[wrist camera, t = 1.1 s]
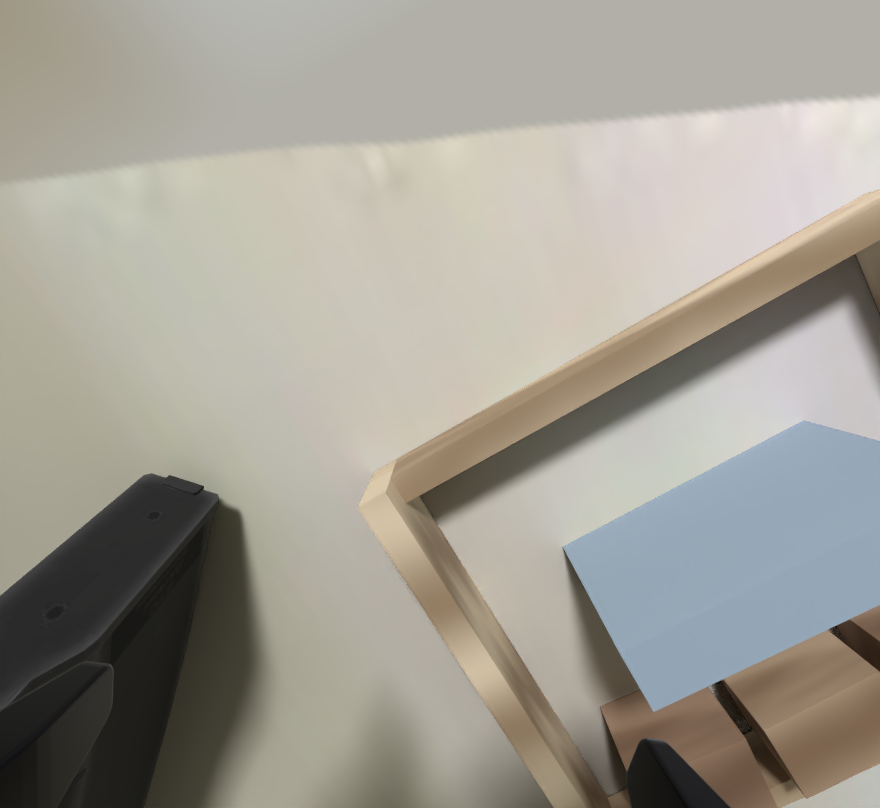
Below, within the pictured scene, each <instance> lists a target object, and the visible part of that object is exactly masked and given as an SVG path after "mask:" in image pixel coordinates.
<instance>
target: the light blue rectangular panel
mask: <svg viewBox="0 0 880 808" xmlns="http://www.w3.org/2000/svg"><path fill="white" fill-rule="evenodd" d="M563 548H564V550H565V552H566V554H567V556H568V558H569V560H570V561H571V563H572V565H573V567H574V569H575V571H576V573H577V575H578V576H579V578H580V580H581V582H582V584H583V586H584V588H585V590H586V591H587V593H588V595H589V597H590V599H591V601H592V603H593V605H594V606H595V608H596V610H597V612H598V614H599V616H600V618H601V620H602V621H603V623H604V625H605V627H606V629H607V631H608V633H609V635H610V636H611V638H612V640H613V642H614V644H615V646H616V648H617V649H618V651H619V653H620V655H621V657H622V658H623V660H624V662H625V664H626V665H627V667H628V669H629V670H630V672H631V674H632V676H633V677H634V679H635V681H636V683H637V684H638V686H639V688H640V689H641V691H642V693H643V695H644V696H645V698H646V700H647V701H648V703H649V705H650V707H651V708H652V710H653V712H655V711H657V710H659V709H662V708H664V707H666V706H668V705H670V704H672V703H674V702H676V701H678V700H680V699H683V698H685V697H687V696H689V695H691V694H693V693H695V692H697V691H699V690H702V689H704V688H706V687H708V686H710V685H712V684H714V683H716V682H718V681H721V680H723V679H725V678H727V677H729V676H731V675H733V674H735V673H737V672H739V671H742V670H744V669H746V668H748V667H750V666H752V665H754V664H756V663H758V662H761V661H763V660H765V659H767V658H769V657H771V656H773V655H775V654H777V653H780V652H782V651H784V650H786V649H788V648H790V647H792V646H794V645H796V644H799V643H801V642H803V641H805V640H807V639H809V638H811V637H813V636H815V635H817V634H820V633H822V632H824V631H826V630H828V629H830V628H832V627H834V626H836V625H839V624H841V623H843V622H845V621H847V620H849V619H851V618H853V617H855V616H858V615H860V614H862V613H864V612H866V611H868V610H870V609H872V608H874V607H876V606H879V605H880V441H877V440H873V439H870V438H866V437H862V436H859V435H855V434H851V433H848V432H844V431H840V430H837V429H833V428H829V427H826V426H822V425H818V424H815V423H811V422H807V421H802V422H800V423H798V424H796V425H794V426H792V427H790V428H788V429H787V430H785V431H783V432H781V433H779V434H777V435H775V436H773V437H771V438H769V439H767V440H766V441H764V442H762V443H760V444H758V445H756V446H754V447H752V448H750V449H748V450H746V451H745V452H743V453H741V454H739V455H737V456H735V457H733V458H731V459H729V460H727V461H725V462H724V463H722V464H720V465H718V466H716V467H714V468H712V469H710V470H708V471H706V472H704V473H703V474H701V475H699V476H697V477H695V478H693V479H691V480H689V481H687V482H685V483H683V484H682V485H680V486H678V487H676V488H674V489H672V490H670V491H668V492H666V493H664V494H662V495H661V496H659V497H657V498H655V499H653V500H651V501H649V502H647V503H645V504H643V505H642V506H640V507H638V508H636V509H634V510H632V511H630V512H628V513H626V514H624V515H622V516H621V517H619V518H617V519H615V520H613V521H611V522H609V523H607V524H605V525H603V526H601V527H600V528H598V529H596V530H594V531H592V532H590V533H588V534H586V535H584V536H582V537H580V538H579V539H577V540H575V541H573V542H571V543H569V544H567V545H565V546H563Z"/></svg>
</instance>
